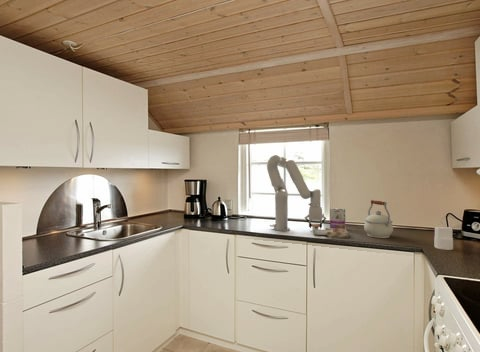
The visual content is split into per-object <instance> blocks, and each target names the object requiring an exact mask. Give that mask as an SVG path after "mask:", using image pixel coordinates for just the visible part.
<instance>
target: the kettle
mask: <svg viewBox="0 0 480 352" xmlns="http://www.w3.org/2000/svg"><path fill="white" fill-rule="evenodd" d="M374 204H375V205H378V206H383V207H384V210H385V212H386V214H382V212H381V210H380V211H379V210H377V211H375V213H374V214H371V210H372V208H373V205H374ZM363 228H364V229H363V230H364V231H365V232H366V233H367V236H368V237H371V238H376V239H387V238H390V235H391V234H393V232H394V227H393V220H392V219H391V215H390V213H389V210H388V208H387V202H386V201H381V200H374V199H371V200H370V207H369V208H368V210H367V217H365V219H364V225H363Z"/></svg>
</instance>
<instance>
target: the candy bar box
mask: <svg viewBox="0 0 480 352" xmlns="http://www.w3.org/2000/svg"><path fill="white" fill-rule="evenodd" d="M329 221H330V223H329V226H330V227H329V228H335V229H346V208H340V207H339V208H336V207H331V208H329Z"/></svg>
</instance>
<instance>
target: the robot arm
mask: <svg viewBox="0 0 480 352" xmlns="http://www.w3.org/2000/svg"><path fill="white" fill-rule="evenodd" d="M279 167H281V168H283V169H286V171H287V174H288V175H289V177H290V180H291V181H292V183H293V184H294V185H295V187H296V189H297V191H298V194H299V195H300V197H301V199H303V200H307V199H310V202H309V203H308V206H309V209H308V214H307V215H305V217H304V219H305V220H306V222H307V223H308V228H309V229H312V227H311V223H312V221H319V224H320V227H319V229H320V230H322V228H323V223H324V222H325V221H326V220H327V218H326V217H325V216H324V214H323V208H322V207H321V205H322V204H321V189H318V188H313V189H312V188H311V189H309V187H308V186H307V184H306V182H305V179H304V177H303V175H302V172H301V171H300V169H299V167H298V165H297V163H296V161H295V160H294V159H293V158H288V157H284V156H282V155H280V154H279V153H273V154H272V155H270V156H269V158H268V159H267V162H266V169H267V173H268V177H269V180H270V183H271V186H272V187H273V189H274V193H275V197H274V202H275V204H274V205H275V212H274V214H275V223H274V224H273V223H269V227H271V228H273V230H274V231H277V232H285V231H290V227H288V219H289V218H288V213H289V212H288V209H289V208H288V205H289V204H288V197H289V192H288V189H287V187H286V185H285V181H284V178H282V177H281V174H280V171H279Z"/></svg>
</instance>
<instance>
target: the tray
mask: <svg viewBox="0 0 480 352" xmlns="http://www.w3.org/2000/svg"><path fill="white" fill-rule="evenodd" d="M327 232H333V230H326V229H320V228H318V229H315V228H314V226H313V231H312V234H313V235H314V236H315V235H321V236H322V235H323V236H327Z"/></svg>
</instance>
